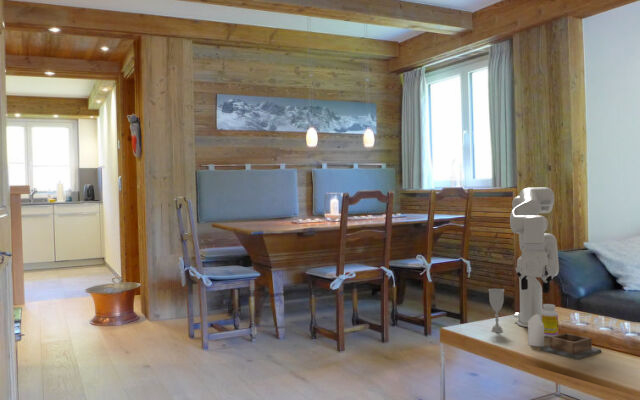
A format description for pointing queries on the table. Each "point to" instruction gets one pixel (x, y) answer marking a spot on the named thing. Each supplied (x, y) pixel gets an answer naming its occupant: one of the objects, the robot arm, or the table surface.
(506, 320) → the table surface
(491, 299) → the chalice
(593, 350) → the brown wooden open box
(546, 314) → the supplement bottle
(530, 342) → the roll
